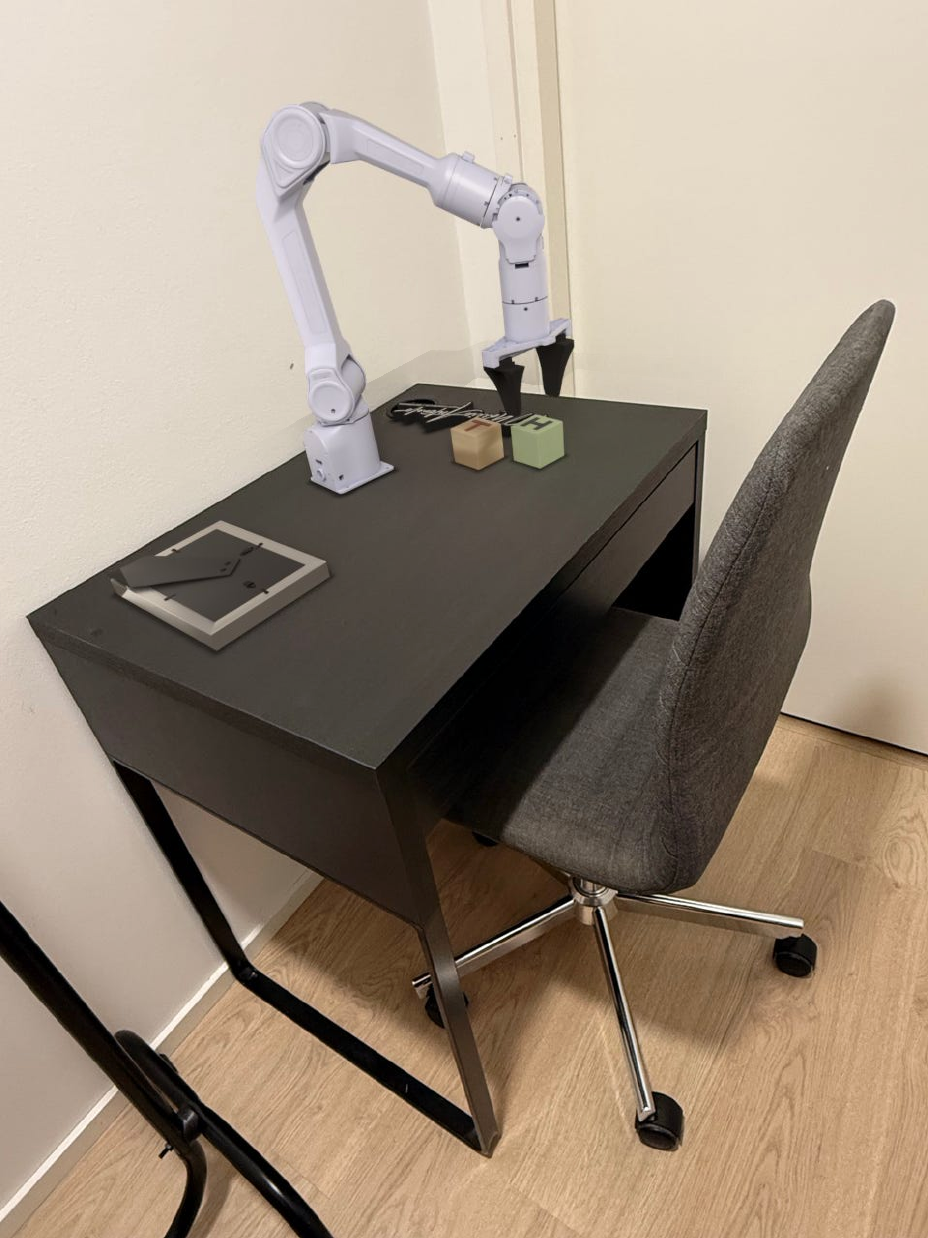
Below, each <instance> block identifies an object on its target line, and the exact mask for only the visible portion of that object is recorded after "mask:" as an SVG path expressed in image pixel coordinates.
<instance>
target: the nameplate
mask: <svg viewBox="0 0 928 1238" xmlns="http://www.w3.org/2000/svg"><path fill="white" fill-rule="evenodd" d="M396 406H397V409H394V410H392V411H391V413H392V420H393V421H394V422H403V423H404V425H405V426H407V425H410V424H413V423H416V422H417V423H420V424H422V425H423V427H424V428H425V432H426V433H432V432H435V431H438V430H441V429H442V430H443V429H444V428H448V427H452V426H458V425H460V424H462V423H464V422H466V421H469V420H471V419H473V418H475V417H478V418H482V419H486V420H489V421H493V422H496V423H500V424H501V432H502V436H505V437H512V434H511V426H513V425H515V424H517V423H519V422H521V421H523V420H525V419H527V418H529V417H531V416H533V415H535V412H527V413H525V414H521V415H520V416H518V417H514V416H511V415H507V414H506V412H505V409H503V410H499V411H498V413H490V412H485V410H484V409H481V408H475V406H474V401H473V400H469V401H467V402H466V403H465V404H463V405H454V404H440V403H439V404H438V403H421V402H405V401H402V402H398V403H397V404H396ZM539 415H540V416H544V417H548V418H550V417H549V414H546V413H544V414H543V413H542V414H539Z"/></svg>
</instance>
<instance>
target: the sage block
mask: <svg viewBox="0 0 928 1238" xmlns="http://www.w3.org/2000/svg"><path fill="white" fill-rule="evenodd" d="M540 415H541V414H535V413H534V415H533V416H531V417H529V418H527V419H525V420H523V421H521V422H519V423H517V424H515V425H513V426H511V434H512V436H511V442H512V454H513V461H515V462H518V463H521V464H524V465H527V466H530V467H534V468H537V469H542V468H544V467H546V466H548V465H550V464H551V463H553V462H555V461H557V460H559V459H560V458H563V457H565V442H564V423H563V421H562V420H559V419H555V418H551V417H549V418H548V417H544V416H540Z"/></svg>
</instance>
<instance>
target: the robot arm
mask: <svg viewBox="0 0 928 1238" xmlns="http://www.w3.org/2000/svg"><path fill="white" fill-rule="evenodd" d="M259 147H260V153H259V161H258V167H257V173H256V180H255V187H254V200H255V204H256V207H257V210H258V213H259V216H260V219H261V222H262V225H263V228H264V231H265V234H266V237H267V240H268V243H269V246H270V250H271V252H272V255H273V258H274V261H275V264H276V267H277V270H278V274H279V276H280V279H281V282H282V286H283V288H284V291H285V295H286V298H287V301H288V304H289V306H290V309H291V312H292V315H293V318H294V322H295V324H296V327H297V330H298V334H299V336H300V339H301V342H302V345H303V348H304V375H305V378H306V381H307V391H306V403H307V405H308V408H309V411H310V412H311V413H312V415H313V416H315V417H316V421H315V422H314V423H313V425H310V427H308V428H306V429H305V430H304V431H303V434H302V436H303V437H302V441H303V446H304V449H305V453H306V456H307V460H308V465H309V468H310V471H311V472H310V473H311V475H312V476H311V477H310V480H311V482H313V483H315V484H318V485H319V486H322V487H324V488H326V489H327V490H331V491H333V492H334V493H337V494H339V495H344V494H346V493H348V492H350V491H352V490H354V489H357V488H358V487H361V486H362V485H364V484H367V483H369V482H371V481H373V480H375V479H377V478H379V477H381V476H383V475H385V474H388V473H390V472H392V471H393V470H394V469H395V468H394V465H392V464H390V463H387V462H384V461H382V460H380V455H379V451H378V445H377V440H376V435H375V431H374V425H373V421H372V417H371V411H370V407H369V404H368V403H367V402H366V400H365V399H364V397H363V393H364V391H365V389H366V386H367V375H366V371H365V369H364V367H363V366H362V364H361V363H360V362H359V361H358V360H357V359H356V357H355V356H354V353H353V351H352V347H351V345H350V343H349V342H348V341H347V340H346V339H345V338H344V336H343V334H342V332H341V328H340V324H339V321H338V318H337V314H336V311H335V308H334V304H333V301H332V298H331V295H330V291H329V287H328V284H327V281H326V278H325V275H324V271H323V268H322V265H321V262H320V258H319V255H318V251H317V248H316V244H315V242H314V238H313V234H312V231H311V228H310V225H309V221H308V218H307V215H306V210H305V208H304V201H305V199H306V197H307V195H308V193H309V192H310V189H311V187H312V185H313V183H314V182H315V179H316V177H317V176H318V175H319V174H320V173H321V172H322V171H323V170H324V169H325V168H326V167H327V166H328V165H329V164H330V165H338V164H342V163H350V162H357V161H362V162H365V163H367V164H369V165H372V166H373V167H377V168H379V169H381V170H383V171H385V172H388V173H390V174H393V175H394V176H397V177H399V178H401V179H404V180H407V181H409V182H411V183H413V184H416V185H418V186H420V187H423V188H425V189H427V191H428V193H429V194H430V198H431V200H432V203H433V205H434V206H435V207H437V208H438V209H441V210H443V211H445V212H446V213H448V214H450V215H453V216H456V217H457V218H459V219H461V220H464V221H466V222H468V223H470V224H472V225H474V226H477V227H479V228H481V229H482V230H486V229H492V231H493V233H494V235H495V237H496V239H497V243H498V252H499V253H498V255H499V258H498V261H497V263H498V275H499V285H500V296H501V306H502V317H503V325H504V326H503V327H504V335H503V336H502V337H501V338H499V339H498V340H497V341H495V342H494V343H492V344H491V345H489V346H488V347H487V348H485V349H482V350H481V359H482V360H481V361H482V368H483V371H484V373H485V374H486V375H487V376H488V378H489V379H490V381H491V382H492V384H493V386H494V387H495V389H496V391H497V393H498V396H499V398H500V400H501V403H502V406H503V408H504V409H503V410H505V412H506V414H507V415H511V416H514V417H519V416H521V415H522V381H523V375H524V371H525V368H526V367H525V365H523V364H522V365H521V364H517V363H516V361H515V360H513V359H514V358H516V357H519V356H520V355H523V354H525V353H527V352H529V351H532V350H534V349H535V351H536V354H537V357H538V361H539V365H540V369H541V378H542V386H543V392H544V395H545V396H548V397H552V398H558V397H560V396H561V395H560V394H561V390H562V385H563V380H564V376H565V371H566V368H567V364H568V362H569V360H570V357H571V355H572V353H573V351H574V349H575V340H574V339H572V338H568V337H569V336H571V335H573V329H572V328H573V325H572V319H571V318H565V317H559V318H556V319H553V320H551V319H550V304H549V286H548V285H549V284H548V271H547V269H548V268H547V255H546V253H545V252H544V249H545V239H544V236H543V230H544V226H545V222H546V215H545V214H544V208H543V207H544V206H543V201H542V199H541V197H540V194H539V193H538V192H537V191H536V190H534V189H533V188H532V187H530V186H529V185H528V184H527V182H525V181H514V175H512V174H510V173H508V172H505V173H504V176H503V175H501V174H499V173H497V172H495V171H493V170H491V169H489V168H487V167H485V166H483V165H482V164H479V163H477V162H475V158H476V156H475V155H474V154H472V153H470V152H469V151H466V150H465V151H464V152H463V153H462V155H461V154H458V153H456V152H454V151H452V152H450V153H448V154H446V155H444V156H442V157H440V158H437V157H435V156H433V155H432V154H429V153H428V152H426V151H424V150H422V149H420V148H418V147H416V146H414V145H413V144H411V143H409V142H407V141H406V140H403V139H402V138H400V137H398V136H396V135H394V134H393V133H390V132H389V131H386V130H385V129H383V128H381V127H379V126H377V125H375V124H373V123H371V122H370V121H368V120H366V119H364V118H362V117H359V116H357V115H355V114H352V113H349V112H347V111H344V110H340V109H337V108H331V109H330V108H329V107H328V106H326V105H325V104H324V103H322V102H320V101H315V100H308V101H304V102H301V103H300V104H296V103H293V104H292V103H291V104H286V105H283V106H281V107H279V108H278V109H276V111H274V112H273V114H272V115H271V117H270V119H269V120H268V122H267V124H266V125H265V127H264V128H263V131H262V132H261V134H260V136H259ZM513 181H514V182H513Z"/></svg>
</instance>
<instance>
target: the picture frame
mask: <svg viewBox="0 0 928 1238" xmlns="http://www.w3.org/2000/svg"><path fill="white" fill-rule="evenodd" d="M327 564H328V563H327V561H326V560H323V559H320V558H318V557H315V556H313V555H311V554H308V553H305V552H303V551H300V550H297V549H295V548H293V547H290V546H288V545H285V544H282V543H279V542H277V541H275V540H272V539H270V538H267V537H265V536H262V535H259V534H257V533H254V532H252V531H250V530H246V529H244V528H241V527H238V526H237V525H233V524H231V523H229V522H226V521H223V520H218V521H216V522H215V523H213V524H211V525H209V526H207V527H205V528H203V529H201V530H200V531H197V532H196V533H195V534H194V533H193V534H192V535H191V536H189V537H187V538H185V539H183V540H181V541H179V542H178V543H176V544H174V545H171V546H170V547H168V548H166V549H164V550H163V551H161V552H159V553H157V554H155V555H144V556H142V557H140V558H138V559H136V560H134V561H132V562H130V563H128V564H126V565H124V566H122V567H120V568H117V569H116V570H114V571H111V572H109V573H107V577H110V578H111V579H110V583H111V584H112V587H113V589H114V591H115V593H116V595H118V596H119V597H121V598H123V599H125V600H127V601H128V602H130V603H132V604H134V605H135V606H137V607H139V608H141V609H142V610H144V611H146V612H147V613H150V614H151V615H153V616H154V617H156V618H158V619H160V620H162V621H163V622H165V623H167V624H169V625H171V626H172V627H174V628H176V629H177V630H179V631H181V632H183V633H184V634H186V635H187V636H189V637H192V638H193V639H195V640H197V641H198V642H200V643H202V644H204V645H206V646H207V647H209V648H211V649H213V650H215V651H216V652H218V651H219V650H221V649H222V648H224V647H226V646H227V645H229V644H230V643H232V642H233V641H235V640H236V639H238V638H239V637H241V636H242V635H244V634H245V633H247V632H248V631H250V630H251V629H252V628H254V627H256V626H258V625H259V624H260V623H262V622H264V621H265V620H266V619H268V618H270V617H272V615H274V614H276V613H277V612H279V611H280V610H282V609H283V608H284V607H287V606H288V605H290V604H291V603H292V602H294V601H295V600H297V599H299V598H301V596H303V595H304V594H306V593H308V592H310V591H311V590H312V589H314V588H315V587H316V586H318V585H320V584H321V583H323V582H324V581H325V580H327V579H329V578H330V577H331V575H330V571H329V568H328V565H327Z"/></svg>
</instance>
